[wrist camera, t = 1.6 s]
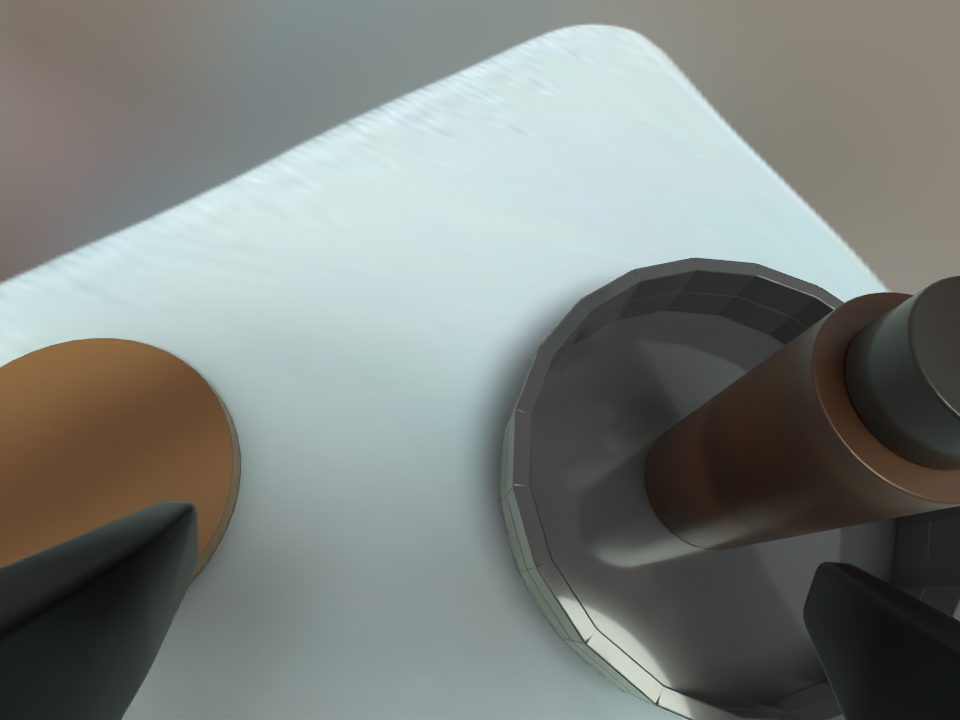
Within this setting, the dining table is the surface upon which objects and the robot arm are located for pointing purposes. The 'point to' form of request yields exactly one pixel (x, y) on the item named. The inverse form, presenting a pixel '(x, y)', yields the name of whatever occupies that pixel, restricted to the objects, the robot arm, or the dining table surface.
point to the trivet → (109, 443)
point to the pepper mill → (823, 429)
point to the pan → (638, 529)
